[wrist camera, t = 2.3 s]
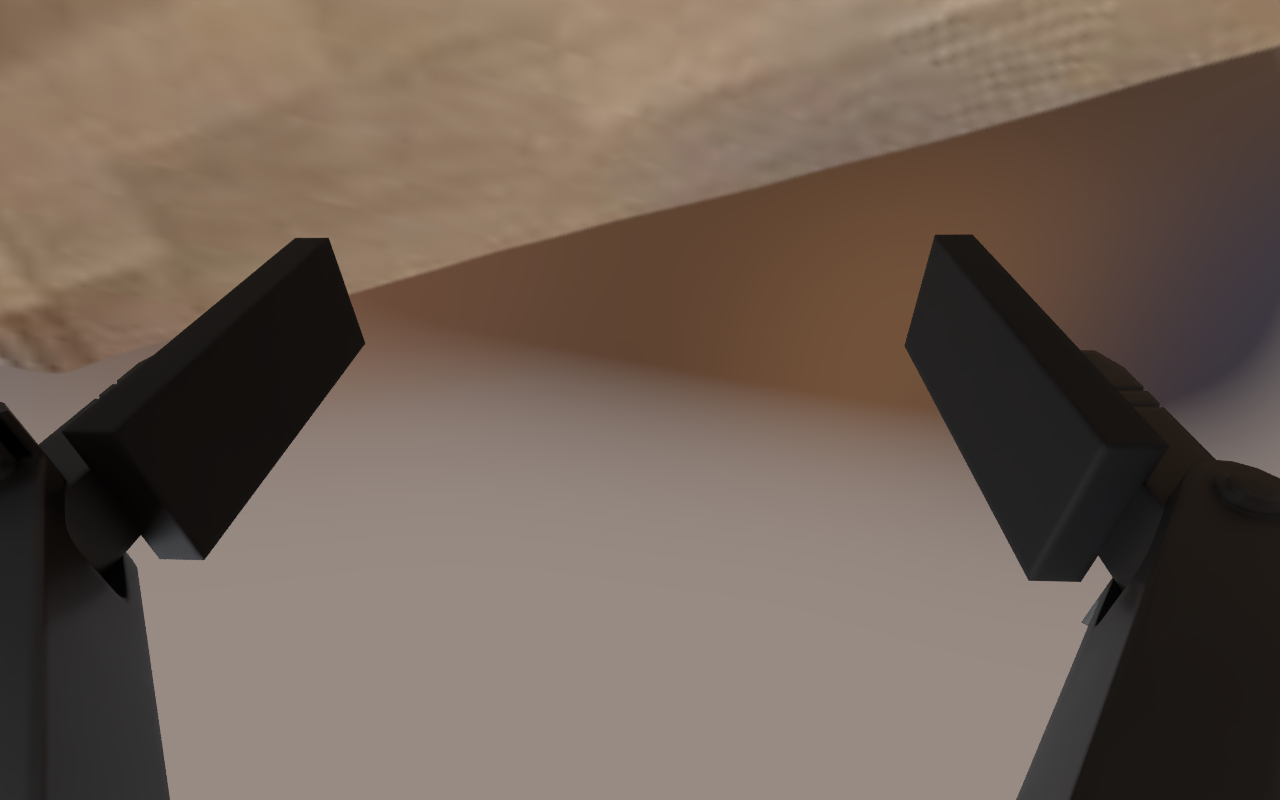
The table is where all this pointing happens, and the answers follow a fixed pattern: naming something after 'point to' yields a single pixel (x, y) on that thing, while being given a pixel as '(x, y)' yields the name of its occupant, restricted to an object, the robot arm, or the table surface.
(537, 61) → the table surface
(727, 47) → the table surface
